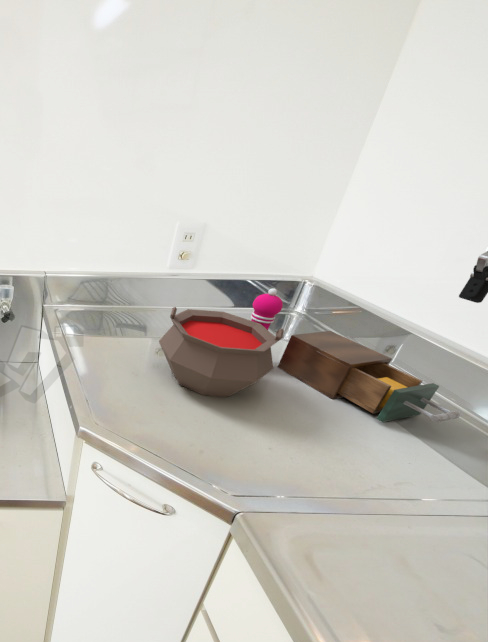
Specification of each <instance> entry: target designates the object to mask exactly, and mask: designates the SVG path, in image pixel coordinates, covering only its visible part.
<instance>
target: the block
mask: <svg viewBox="0 0 488 642" xmlns="http://www.w3.org/2000/svg"><path fill="white" fill-rule="evenodd" d="M378 379H379V380H381V381H383V382H385V383H387V384H389V385H391V388H390V390H389V391H388V393H387V394H386V396H385V398H384V399H383V401H382V403H381V404H380V407H382V408H383V407H384V406H385V404H386V402H387V401H388V399H389V398H390V396H391V394H392V393H393V391H394V390H396V389H401V388H407V387H406V386H404V385H402V384H400V383H398V382H396V381H394V380H392V379H390V378H388V377H384V378H378Z"/></svg>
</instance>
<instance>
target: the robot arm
mask: <svg viewBox="0 0 488 642" xmlns="http://www.w3.org/2000/svg"><path fill="white" fill-rule="evenodd" d="M487 295H488V246H487V247H486V249H485V250H484V253H481V254H479V256H478V257H477V260H476V263H475V265H474V266H473V271H472V272H471V273H470V276H469V279H468V280H467V281H466V283H465V285H464V287H463V288H462V289H461V290H460V293H459V294H458V298H459V299H462V300H466V301H470V302H473V303H476V304H480V303H482V302H483V301H484V300H485V298H486V296H487Z"/></svg>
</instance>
